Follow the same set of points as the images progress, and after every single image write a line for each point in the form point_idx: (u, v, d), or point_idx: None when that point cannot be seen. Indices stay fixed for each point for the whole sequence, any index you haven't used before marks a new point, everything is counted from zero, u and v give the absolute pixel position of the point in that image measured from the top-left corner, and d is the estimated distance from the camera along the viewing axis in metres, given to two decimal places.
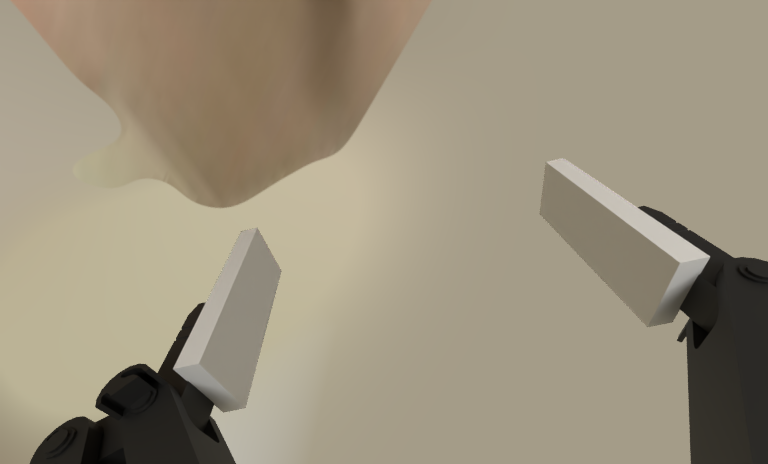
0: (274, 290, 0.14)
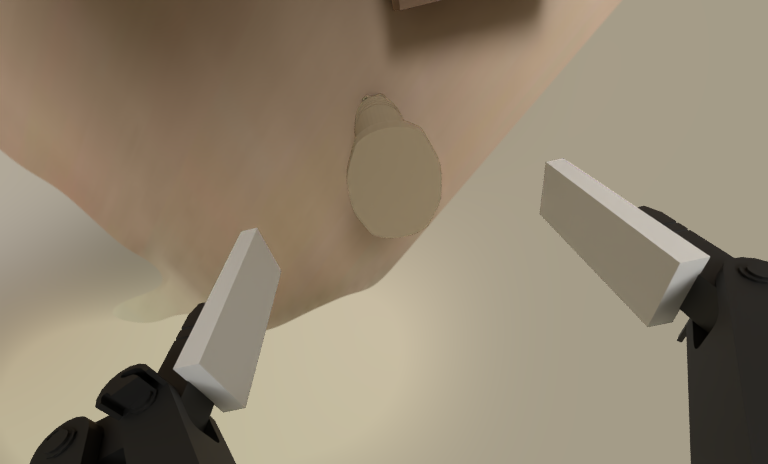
0: (274, 290, 0.14)
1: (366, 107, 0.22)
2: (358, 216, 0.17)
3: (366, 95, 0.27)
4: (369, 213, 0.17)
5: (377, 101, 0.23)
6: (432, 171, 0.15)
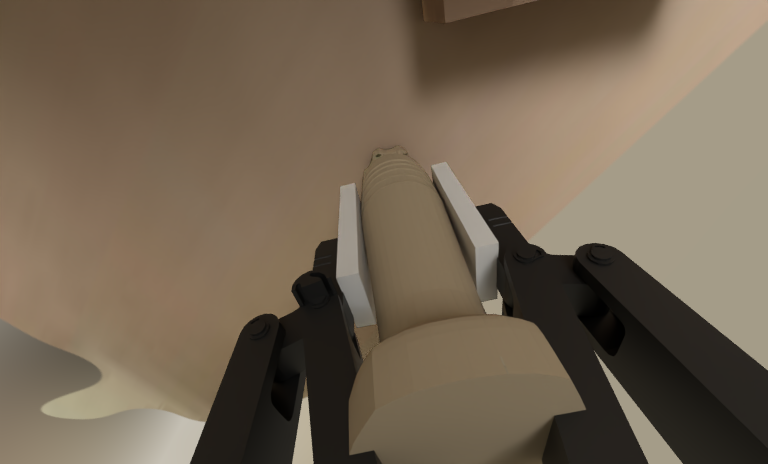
0: None
1: (381, 185, 0.13)
2: None
3: (378, 149, 0.17)
4: None
5: (399, 173, 0.14)
6: None
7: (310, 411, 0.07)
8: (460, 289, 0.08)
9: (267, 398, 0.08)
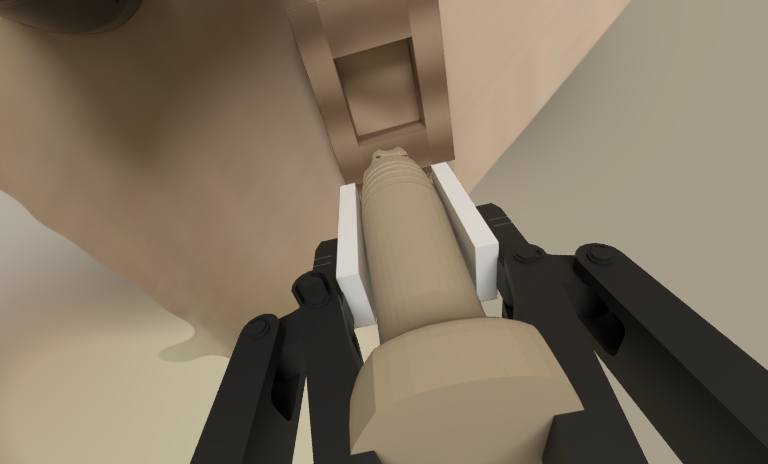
0: None
1: (381, 186, 0.13)
2: None
3: (378, 150, 0.17)
4: None
5: (399, 174, 0.14)
6: None
7: (309, 411, 0.07)
8: (460, 290, 0.09)
9: (267, 398, 0.08)
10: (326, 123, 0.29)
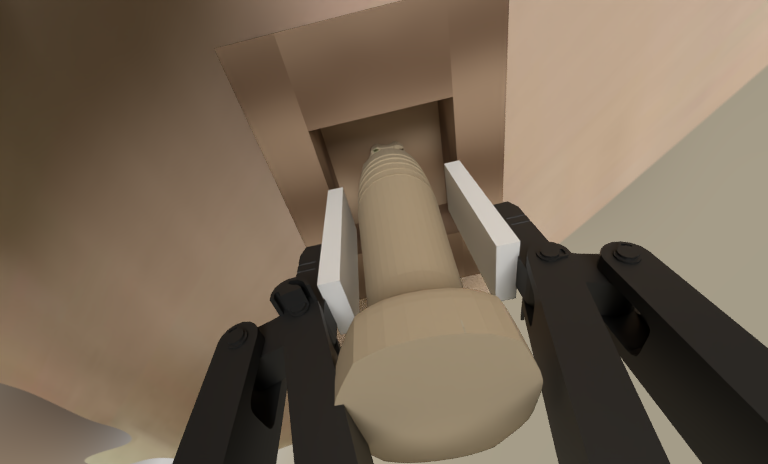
0: (356, 244, 0.15)
1: (376, 177, 0.14)
2: None
3: (376, 144, 0.18)
4: (381, 441, 0.08)
5: (394, 166, 0.14)
6: (523, 390, 0.07)
7: (290, 421, 0.07)
8: (441, 270, 0.09)
9: (247, 406, 0.08)
10: (299, 225, 0.17)
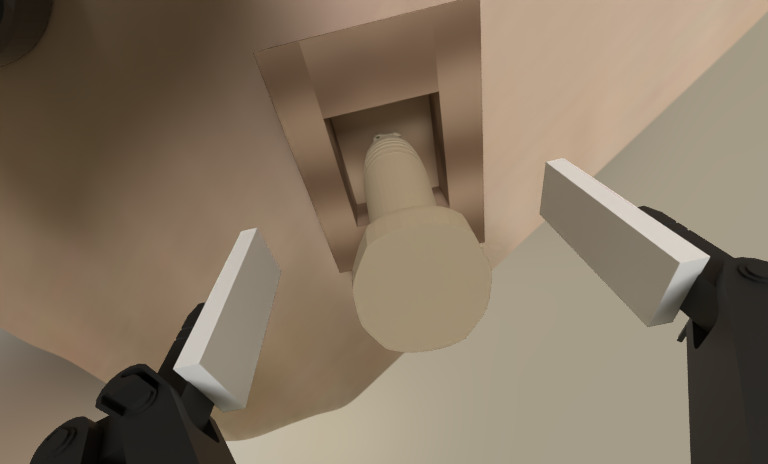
0: (274, 290, 0.14)
1: (378, 155, 0.18)
2: (368, 330, 0.12)
3: (378, 133, 0.22)
4: (384, 326, 0.12)
5: (392, 147, 0.18)
6: (478, 277, 0.10)
7: None
8: None
9: None
10: (313, 199, 0.21)
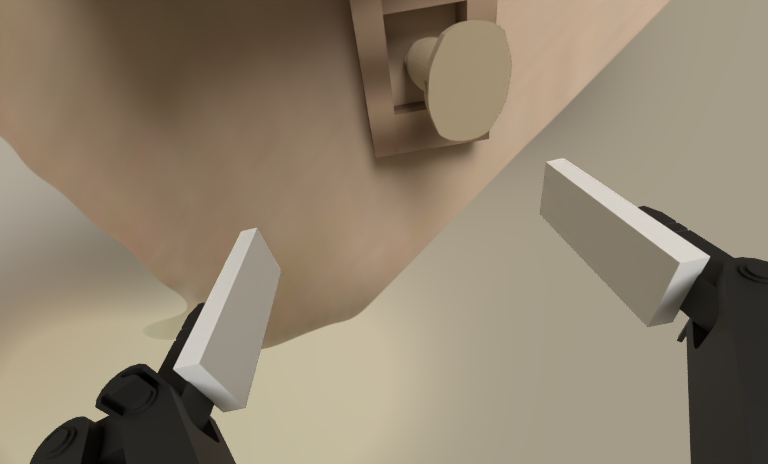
0: (274, 290, 0.14)
1: (423, 41, 0.24)
2: (432, 113, 0.19)
3: None
4: (442, 111, 0.19)
5: (433, 37, 0.25)
6: (503, 71, 0.18)
7: None
8: None
9: None
10: (365, 85, 0.28)
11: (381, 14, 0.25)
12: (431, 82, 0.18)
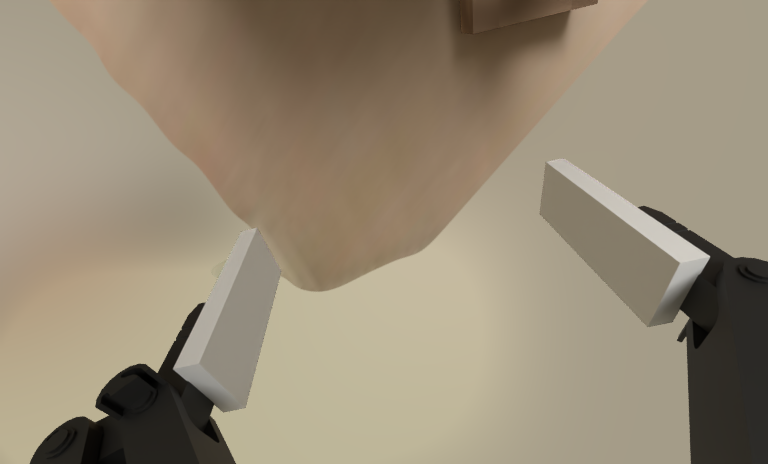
0: (274, 290, 0.14)
1: None
2: None
3: None
4: None
5: None
6: None
7: None
8: None
9: None
10: None
11: None
12: None
